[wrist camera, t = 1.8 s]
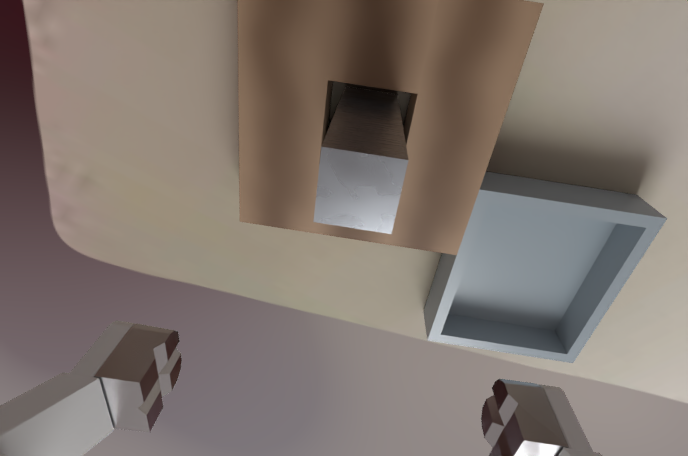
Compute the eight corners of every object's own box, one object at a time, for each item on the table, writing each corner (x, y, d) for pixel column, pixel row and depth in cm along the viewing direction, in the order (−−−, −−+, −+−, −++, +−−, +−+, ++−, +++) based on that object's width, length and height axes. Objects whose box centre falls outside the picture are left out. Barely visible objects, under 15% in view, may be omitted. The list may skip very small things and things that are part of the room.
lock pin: (397, 93, 30) (408, 160, 18) (387, 144, 32) (391, 234, 20) (345, 86, 30) (321, 146, 18) (339, 136, 32) (313, 222, 20)
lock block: (522, 2, 26) (543, 3, 23) (449, 230, 35) (456, 255, 32) (255, -39, 26) (237, -44, 23) (253, 199, 35) (239, 221, 32)
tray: (636, 194, 32) (667, 218, 29) (556, 331, 40) (573, 362, 37) (469, 168, 32) (479, 189, 29) (423, 311, 40) (427, 340, 37)
